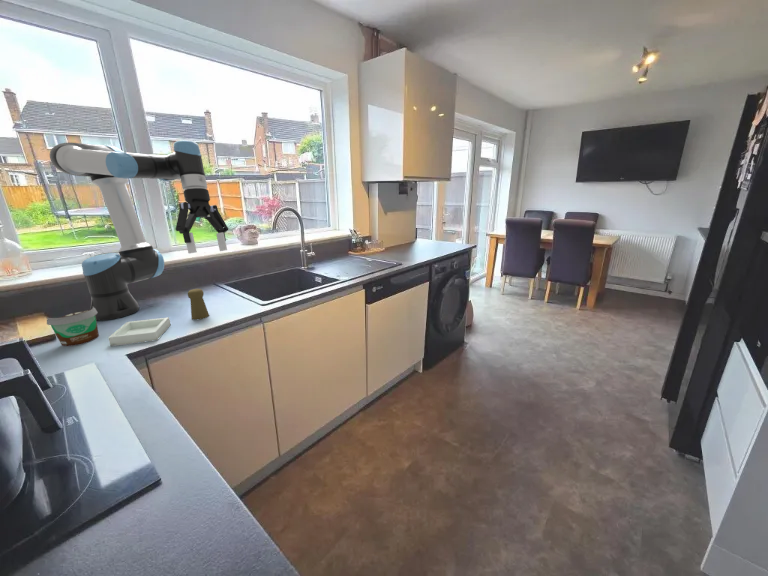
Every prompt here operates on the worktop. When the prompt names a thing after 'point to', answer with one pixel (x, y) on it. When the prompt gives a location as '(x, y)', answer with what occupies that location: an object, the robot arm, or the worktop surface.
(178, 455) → the worktop surface
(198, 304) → the pepper mill
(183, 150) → the robot arm
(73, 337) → the food container
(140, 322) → the tray
